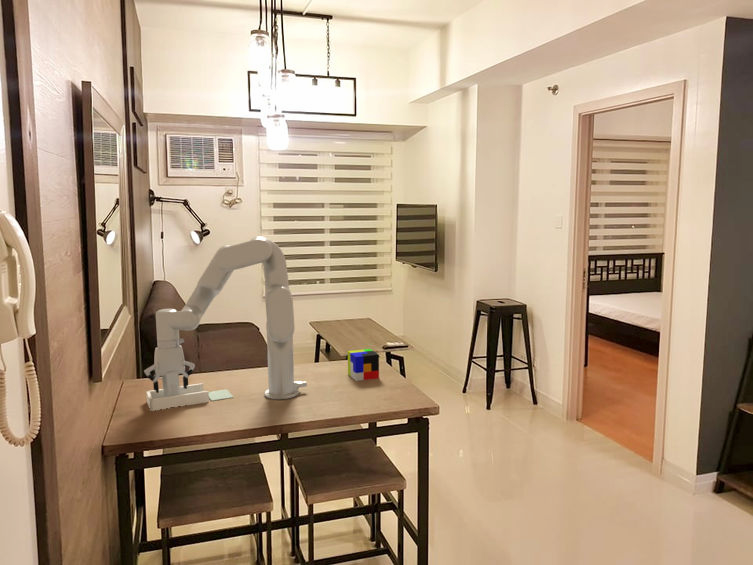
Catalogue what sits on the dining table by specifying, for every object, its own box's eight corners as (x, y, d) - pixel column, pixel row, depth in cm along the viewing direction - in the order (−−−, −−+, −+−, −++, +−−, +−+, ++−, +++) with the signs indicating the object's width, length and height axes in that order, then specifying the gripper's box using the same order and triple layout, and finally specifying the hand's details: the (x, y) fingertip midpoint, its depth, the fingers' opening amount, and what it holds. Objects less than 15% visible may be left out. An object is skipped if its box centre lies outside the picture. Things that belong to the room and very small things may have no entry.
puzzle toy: (355, 381, 238) (355, 357, 236) (348, 374, 247) (347, 351, 246) (379, 378, 241) (378, 354, 240) (370, 371, 251) (370, 348, 249)
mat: (227, 389, 228) (227, 389, 228) (233, 397, 219) (233, 396, 219) (205, 393, 224) (205, 392, 224) (211, 401, 215) (211, 400, 215)
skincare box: (181, 403, 213) (179, 371, 211) (169, 406, 210) (167, 373, 208) (175, 399, 218) (173, 367, 216) (163, 402, 215) (161, 369, 213)
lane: (203, 393, 224) (202, 383, 224) (209, 401, 215) (208, 391, 214) (146, 401, 215) (146, 391, 215) (150, 411, 206) (149, 400, 205)
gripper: (191, 338, 218) (194, 383, 220) (141, 344, 210) (144, 390, 213) (195, 343, 211) (197, 389, 214) (143, 348, 204) (147, 396, 206)
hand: (171, 389), depth 213 cm, fingers open, 9 cm apart
